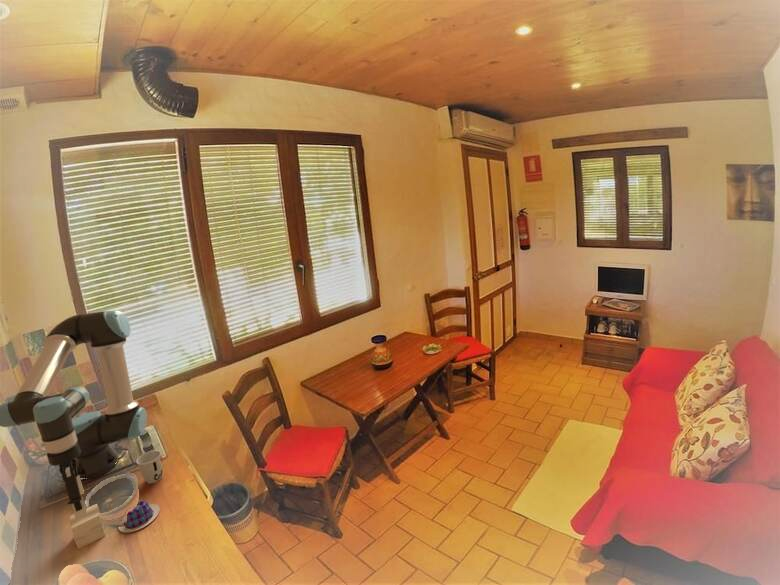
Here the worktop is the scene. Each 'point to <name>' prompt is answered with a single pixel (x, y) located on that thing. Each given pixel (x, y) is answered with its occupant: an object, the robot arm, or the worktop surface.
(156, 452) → the cup
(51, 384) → the robot arm
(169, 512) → the worktop surface
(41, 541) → the worktop surface
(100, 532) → the block
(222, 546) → the worktop surface
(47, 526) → the worktop surface
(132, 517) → the plate of blueberries
